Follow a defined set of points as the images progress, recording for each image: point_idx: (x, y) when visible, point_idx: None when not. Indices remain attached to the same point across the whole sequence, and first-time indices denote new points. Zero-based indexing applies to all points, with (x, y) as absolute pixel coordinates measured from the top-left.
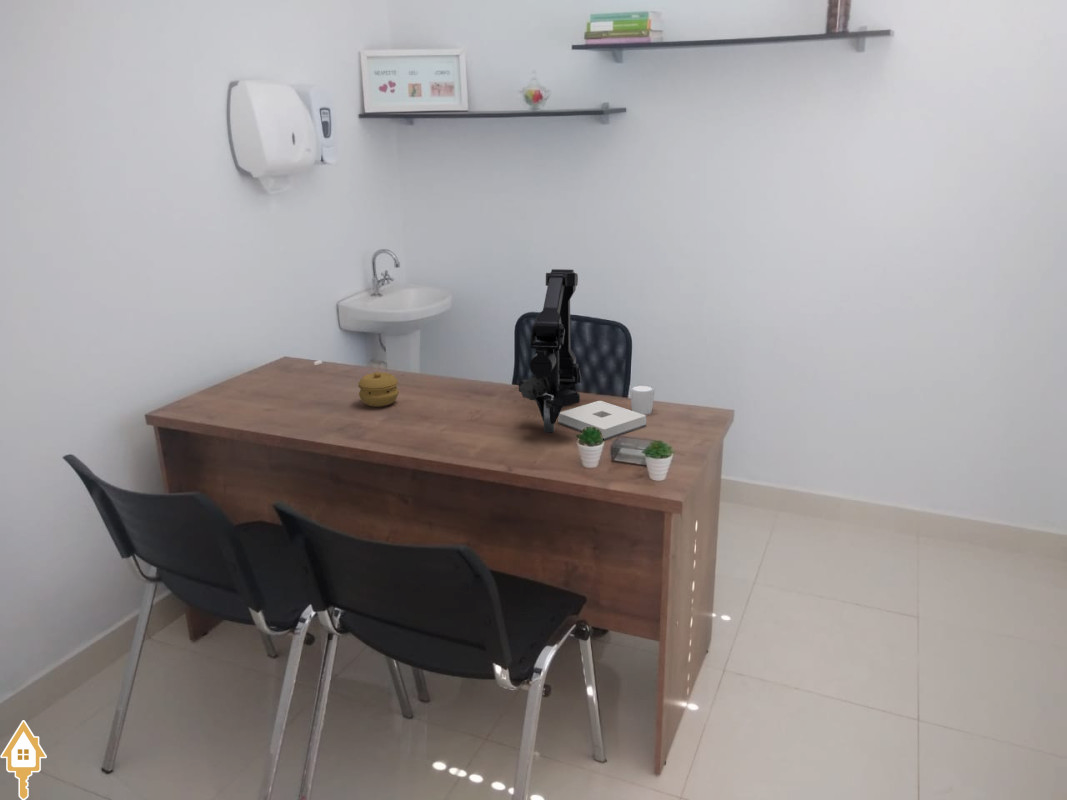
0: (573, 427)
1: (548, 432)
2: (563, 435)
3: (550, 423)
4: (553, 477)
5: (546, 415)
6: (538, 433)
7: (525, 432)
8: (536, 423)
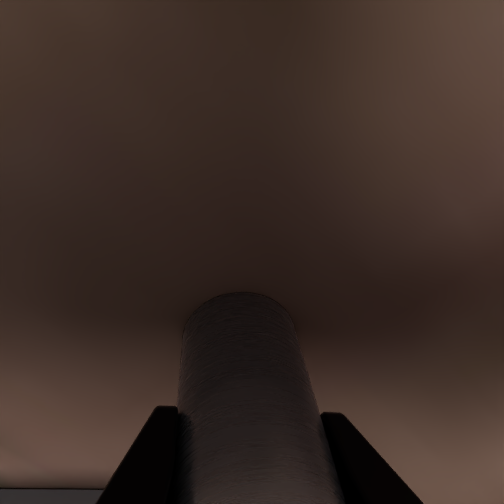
0: None
1: (207, 304)
2: (25, 345)
3: (184, 403)
4: None
5: (238, 501)
6: (288, 222)
7: (447, 146)
8: (468, 393)
